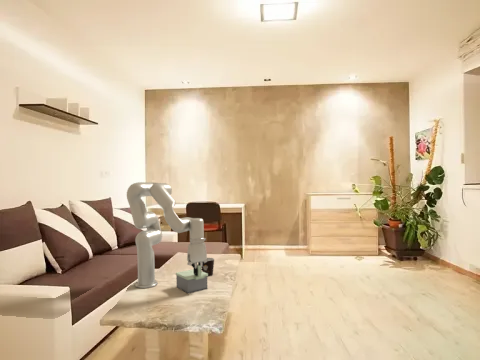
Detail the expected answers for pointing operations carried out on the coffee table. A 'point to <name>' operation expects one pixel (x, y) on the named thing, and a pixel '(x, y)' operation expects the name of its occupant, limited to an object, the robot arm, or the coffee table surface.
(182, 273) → the lid
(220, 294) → the coffee table surface
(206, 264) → the coffee mug
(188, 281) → the tub
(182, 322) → the coffee table surface
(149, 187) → the robot arm
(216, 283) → the coffee table surface
